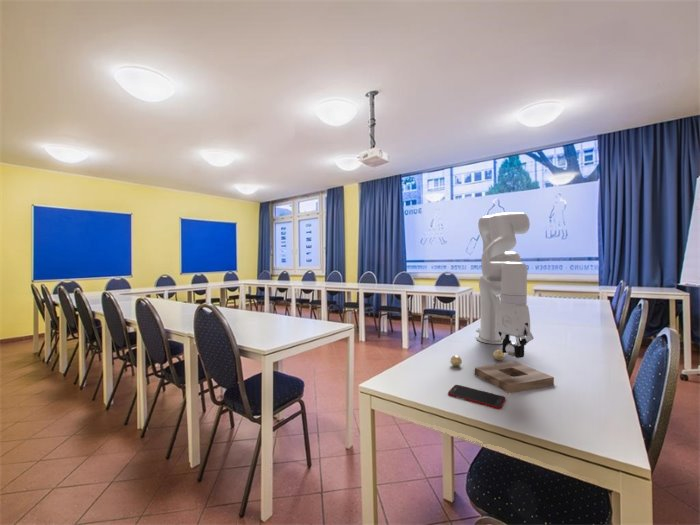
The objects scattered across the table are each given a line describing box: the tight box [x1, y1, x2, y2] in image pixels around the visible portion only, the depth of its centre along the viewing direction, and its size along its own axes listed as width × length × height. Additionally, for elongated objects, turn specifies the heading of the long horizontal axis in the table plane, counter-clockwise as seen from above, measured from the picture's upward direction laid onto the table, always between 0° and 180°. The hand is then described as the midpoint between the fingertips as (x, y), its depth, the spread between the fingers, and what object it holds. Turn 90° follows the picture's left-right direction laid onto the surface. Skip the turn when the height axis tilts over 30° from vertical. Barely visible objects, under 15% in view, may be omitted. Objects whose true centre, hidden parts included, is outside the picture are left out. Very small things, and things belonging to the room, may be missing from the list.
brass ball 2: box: [493, 349, 506, 361], centre depth 121 cm, size 4×4×4 cm
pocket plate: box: [474, 361, 555, 394], centre depth 102 cm, size 15×18×2 cm
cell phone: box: [447, 384, 507, 410], centre depth 90 cm, size 8×15×1 cm, turn 53°
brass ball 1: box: [450, 355, 463, 368], centre depth 114 cm, size 4×4×4 cm
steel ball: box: [505, 341, 517, 358], centre depth 102 cm, size 4×4×4 cm
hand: (512, 354), depth 102 cm, fingers closed on steel ball, 4 cm apart
